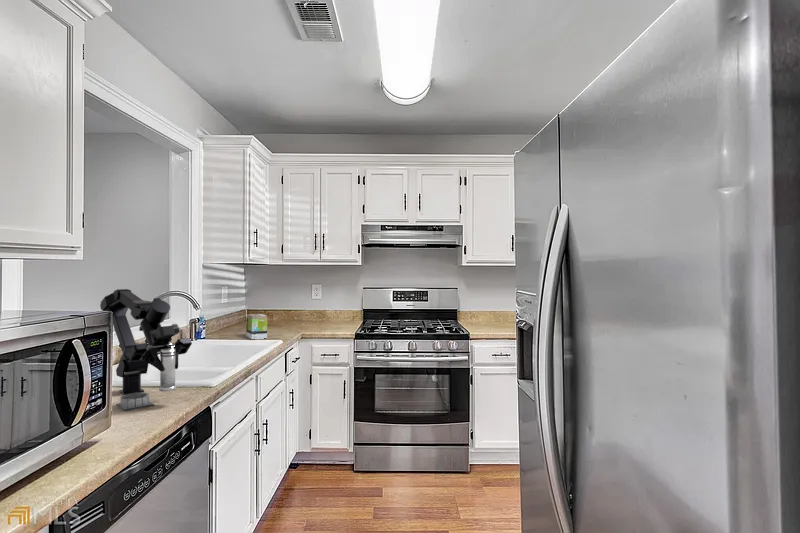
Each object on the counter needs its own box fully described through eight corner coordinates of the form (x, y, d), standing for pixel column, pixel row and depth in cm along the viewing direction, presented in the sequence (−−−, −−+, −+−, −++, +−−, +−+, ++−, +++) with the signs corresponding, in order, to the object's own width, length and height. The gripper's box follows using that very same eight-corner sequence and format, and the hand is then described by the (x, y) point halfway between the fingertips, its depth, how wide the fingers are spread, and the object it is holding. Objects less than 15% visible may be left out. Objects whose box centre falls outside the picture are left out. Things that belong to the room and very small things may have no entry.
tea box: (267, 338, 300) (267, 315, 300) (251, 340, 295) (251, 316, 295) (261, 335, 313) (261, 313, 313) (245, 336, 308) (245, 313, 308)
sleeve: (116, 405, 156) (116, 395, 156) (145, 400, 162) (145, 391, 162) (124, 411, 150) (124, 401, 150) (153, 405, 156) (153, 396, 156)
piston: (156, 389, 156) (157, 349, 156) (173, 386, 160) (173, 347, 160) (162, 392, 152) (162, 351, 152) (178, 389, 156) (178, 349, 156)
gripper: (132, 319, 151) (148, 358, 144) (189, 314, 166) (206, 350, 159) (121, 341, 156) (136, 380, 149) (177, 335, 171) (193, 370, 164)
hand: (170, 369), depth 155 cm, fingers closed on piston, 4 cm apart
